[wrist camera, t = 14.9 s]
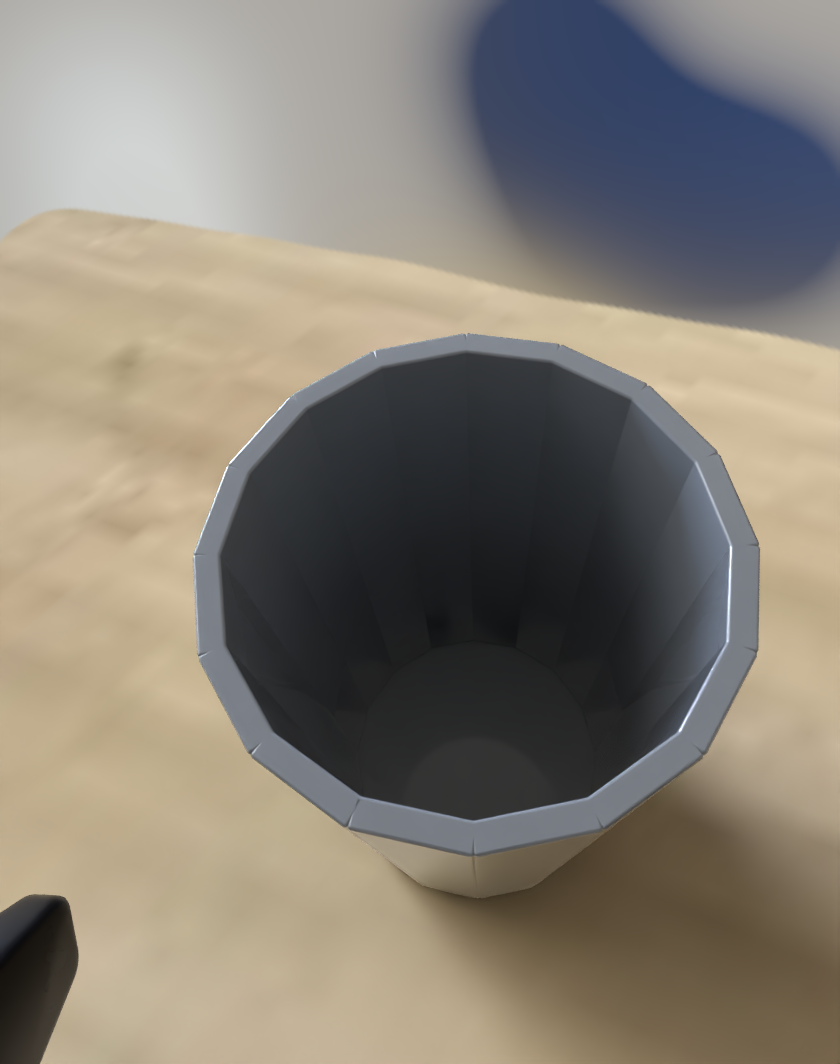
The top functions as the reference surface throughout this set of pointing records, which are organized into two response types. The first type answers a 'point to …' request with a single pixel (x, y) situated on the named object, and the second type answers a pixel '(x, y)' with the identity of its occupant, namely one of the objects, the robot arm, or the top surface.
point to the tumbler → (477, 603)
